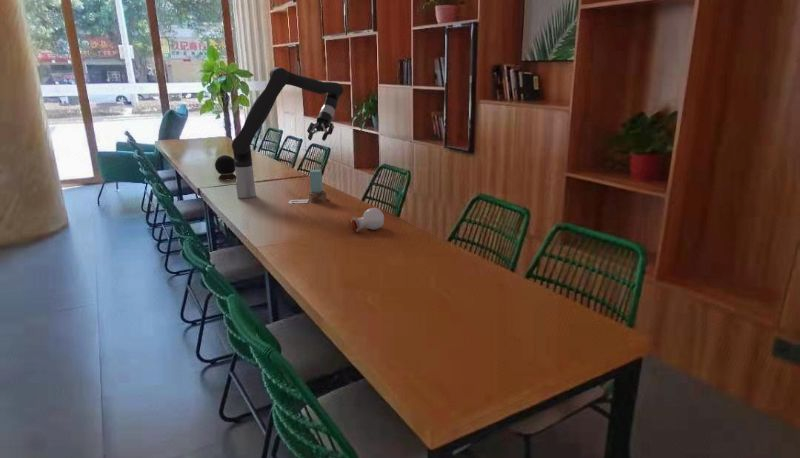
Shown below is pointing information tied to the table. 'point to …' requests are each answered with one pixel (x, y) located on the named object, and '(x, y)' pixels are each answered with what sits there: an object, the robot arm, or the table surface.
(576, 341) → the table surface
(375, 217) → the potion bottle
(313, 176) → the teal brick
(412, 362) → the table surface
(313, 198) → the walnut base brick
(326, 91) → the robot arm
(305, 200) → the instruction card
